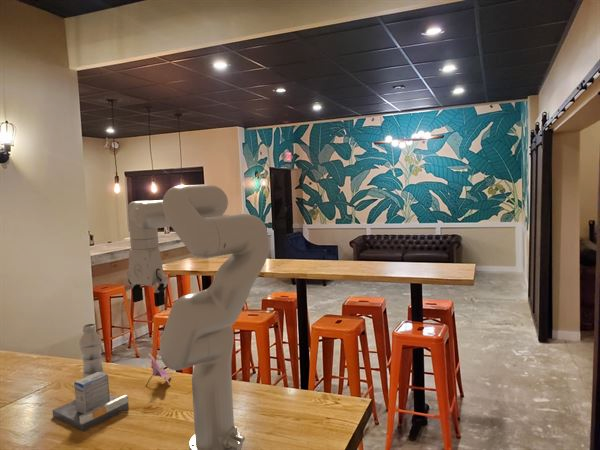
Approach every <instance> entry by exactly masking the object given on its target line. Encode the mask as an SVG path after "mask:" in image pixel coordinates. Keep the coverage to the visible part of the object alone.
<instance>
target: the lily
mask: <svg viewBox="0 0 600 450" xmlns="http://www.w3.org/2000/svg"><path fill="white" fill-rule="evenodd" d="M148 355H149V356H150V358H151V361H148V364H149V365H151V366H152V374H151V376H150V377H149V378H148V381H147V383H146V384H145V387H147V386H148V384H149V383H150V381H151V379H152V378H153V377H154V376H155V377H160V378H162V379H164V380H165V381H166V382H167V384H168V385H169V386H171V383H170V382H169V380H168V378H171V379H172V376H171V375H170V374H169V373H168V372H167V370H165V367H166V366H165V367H164V366H163V367H162V366H160V364H159V363H158V362H157V361H156V358H155V357H154V356H153V355H151V353H149V352H148Z"/></svg>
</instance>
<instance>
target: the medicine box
mask: <svg viewBox="0 0 600 450" xmlns="http://www.w3.org/2000/svg"><path fill="white" fill-rule="evenodd" d="M73 385H74V396H75V400H76V409H77V411H78V412H80V413H83V414H85V413H87V412H89V411H91V410H93V409H95V408H98V407H100V406H102V405H104V404H106V403H108V402H110V395H111V394H110V384H109V374H107V373H105V372H104V373H101V372H96V373H94V374H92V375H89V376H87V377H85V378H83V377H82V378H80V379H78V380H76V381H75V382H74V383H73Z"/></svg>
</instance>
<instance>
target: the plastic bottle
mask: <svg viewBox="0 0 600 450" xmlns="http://www.w3.org/2000/svg"><path fill="white" fill-rule="evenodd" d="M96 325H97V324H95V323H87V324H84V325H83V326H82V329H83V330H82V333H83V334H82V336H81V337H80V339H79V348H80V351H81V355H82V362H83V363H82V364H83V365H82V367H83V370H82V371H83V372H82V379H83V378H85V377H87V376H89V375H92V374H94V373H96V372H101V373H105V371H104V367H103V362H102V338H101V336H100V334H98V332H97V326H96Z"/></svg>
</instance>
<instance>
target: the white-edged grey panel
mask: <svg viewBox="0 0 600 450" xmlns="http://www.w3.org/2000/svg"><path fill="white" fill-rule="evenodd" d="M109 395H110V402H108V403H106V404H104V405H102V406H100V407H98V408H95V409H93V410H91V411H89V412H87V413H85V414H83V413H80V412H78V411H77V409H76V399H75V400H72V401H70V402H68V403H66V404H63V405H60V406H58V407H57V408H54V409H52V411H51V412H52V417H53V418H55V419H56V420H58V421H61V422H63V423H65V424H67V425H69V426H71V427H73V428H75V429H77V430H79V431H80V432H85V431H87V430H89V429H91V428H93V427H95V426H97V425H99V424H101V423H103V422H105V421H107V420H109V419H111V418H113V417H115V416H117V415H120V414H121V413H123V412H125V411H127V410H129V408H130V407H129V396H128V395H127V394H124V395H121V396H119V397H116V396H114V395H111V394H109Z"/></svg>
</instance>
